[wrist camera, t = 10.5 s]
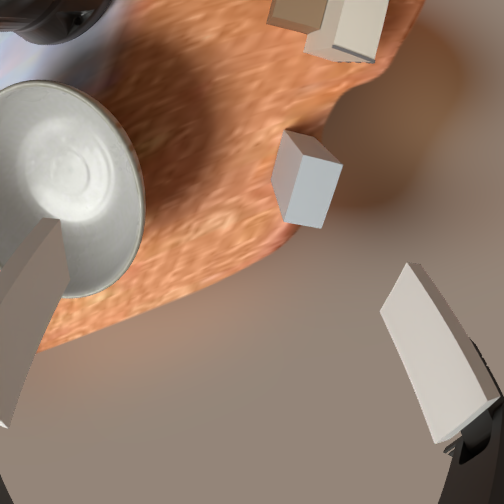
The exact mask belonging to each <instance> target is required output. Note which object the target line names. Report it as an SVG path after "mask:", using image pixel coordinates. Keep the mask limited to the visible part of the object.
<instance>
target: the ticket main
mask: <svg viewBox="0 0 504 504" xmlns="http://www.w3.org/2000/svg"><path fill="white" fill-rule="evenodd" d="M388 2H389V0H272V4H271V8H270V11H269V15H268V19H267V23H266V24H268V25H273V26H277V27H281V28H285V29H289V30H293V31H297V32H301V33H304V34H308V36H307V39H306V43H305V47H304V51H303V52H304V53H307V54H311V55H314V56H318V57H321V58H324V59H327V60H331V61H334V62H348V63H351V62H356V63H361V62H366V63H375V60H374V59H375V55H376V51H377V48H378V44H379V40H380V36H381V32H382V28H383V24H384V20H385V15H386V11H387V7H388Z"/></svg>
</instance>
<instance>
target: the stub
mask: <svg viewBox="0 0 504 504" xmlns="http://www.w3.org/2000/svg"><path fill="white" fill-rule="evenodd" d="M342 166H343V164H342V163H341V162H340V161H339V160H337V159H336V157H334V156H333V155H332V154H331V153H330V152H329V151H328V150H327V149H326V148H325V147H324V146H323V145H322V144H321V143H320V142H319V141H318V140H317V139H316V138H315V137H312V136H308V135H304V134H300V133H296V132H292V131H288V130H284V131H283V134H282V138H281V142H280V146H279V150H278V154H277V158H276V162H275V165H274V169H273V173H272V177H271V183H272V186H273V189H274V192H275V195H276V198H277V202H278V205H279V208H280V211H281V215H282V218H283V221H284V222H287V223H293V224H299V225H304V226H310V227H316V228H322V225H323V222H324V219H325V216H326V214H327V211H328V208H329V205H330V202H331V199H332V196H333V193H334V190H335V188H336V185H337V181H338V179H339V175H340V172H341V170H342Z"/></svg>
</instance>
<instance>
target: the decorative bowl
mask: <svg viewBox="0 0 504 504" xmlns="http://www.w3.org/2000/svg"><path fill="white" fill-rule="evenodd" d="M145 215H146V197H145V186H144V180H143V175H142V170H141V166H140V163H139V160H138V157H137V154H136V151H135V149H134V147H133V145H132V142H131V140H130V139H129V137H128V135H127V133H126V132H125V130H124V129H123V127H122V126H121V124H120V123H119V122H118V120H117V119H116V118H115V117H114V116H113V114H112V113H111V112H110V111H109V110H108V109H107V108H105V107H104V106H103V105H102V104H101V103H100V102H98V101H97V100H96V99H94V98H93V97H91V96H90V95H88V94H87V93H85V92H83V91H81V90H79V89H77V88H75V87H72V86H70V85H67V84H63V83H60V82H55V81H49V80H29V81H23V82H19V83H16V84H13V85H10V86H8V87H6V88H4V89H2V90H1V91H0V270H1V269H2V268H3V266H4V265H5V264H6V262H7V261H8V260H9V258H10V257H11V256H12V254H13V253H14V252H15V251H16V249H17V248H18V247H19V245H20V244H21V243H22V242H23V240H24V239H25V238H26V237H27V236H28V234H29V233H30V232H31V231H32V230H33V228H34V227H35V226H36V225H37V224H38V222H39V221H40V220H41V219H42V218H43V217H44V218H53V219H60V221H61V229H62V236H63V242H64V249H65V254H66V260H67V266H68V271H69V276H70V281H69V283H68V285H67V287H66V289H65V291H64V293H63V295H62V297H61V298H80V297H86V296H90V295H93V294H96V293H98V292H101V291H103V290H104V289H106V288H108V287H110V286H111V285H112V284H114V283H115V282H116V281H117V280H119V279H120V277H121V276H122V275H123V274H124V273H125V272H126V271H127V270H128V268H129V267H130V265H131V264H132V262H133V260H134V258H135V256H136V254H137V252H138V249H139V247H140V243H141V240H142V236H143V232H144V225H145Z"/></svg>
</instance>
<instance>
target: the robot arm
mask: <svg viewBox="0 0 504 504" xmlns="http://www.w3.org/2000/svg"><path fill="white" fill-rule="evenodd" d="M110 1H111V0H0V32H9V31H13V32H14V33H16V34H17V35H19V36H20V37H22V38H23V39H25V40H26V41H28V42H30V43H34V44H38V45H56V44H61V43H65V42H67V41H70V40H72V39H74V38H76V37H78V36H79V35H81V34H82V33H84V32H85V31H86V30H88V29H89V28H90V27H91V26H92V25H93V24H94V23H95V22H96V21H97V20H98V19H99V18H100V17H101V15H102V14H103V13H104V11H105V10H106V8H107V7H108V5H109V3H110ZM69 281H70V276H69V271H68V266H67V260H66V254H65V249H64V242H63V236H62V229H61V221H60V219H53V218H44V217H43V218H42V219H41V220H40V221H39V222H38V224H37V225H36V226H35V227H34V228H33V230H32V231H31V232H30V233H29V234H28V236H27V237H26V238H25V239H24V240H23V242H22V243H21V244H20V245H19V247H18V248H17V249H16V251H15V252H14V253H13V254H12V256H11V257H10V258H9V260H8V261H7V262H6V264H5V265H4V266H3V268H2V269H1V271H0V425H1V426H3V427H6V428H8V429H9V426H10V423H11V420H12V417H13V414H14V411H15V407H16V404H17V401H18V398H19V396H20V392H21V390H22V387H23V384H24V382H25V379H26V376H27V374H28V371H29V369H30V366H31V364H32V361H33V359H34V356H35V354H36V351H37V349H38V347H39V344H40V342H41V340H42V337H43V335H44V333H45V331H46V328H47V326H48V324H49V322H50V320H51V318H52V315H53V313H54V311H55V309H56V307H57V305H58V303H59V301H60V299H61V297H62V295H63V293H64V291H65V289H66V287H67V285H68V283H69ZM380 313H381V315H382V317H383V320H384V322H385V324H386V326H387V328H388V330H389V333H390V335H391V337H392V339H393V341H394V344H395V346H396V348H397V350H398V353H399V355H400V357H401V359H402V362H403V364H404V366H405V369H406V371H407V374H408V376H409V378H410V381H411V383H412V386H413V388H414V391H415V393H416V395H417V398H418V401H419V403H420V406H421V408H422V411H423V413H424V416H425V419H426V421H427V424H428V427H429V430H430V433H431V435H432V438H433V441H434V444H436V443H440V442H443V441H446V440H449V439H450V438H452V437H453V436H454V435H456V434H457V433H458V432H460V431H461V434H462V436H461V437H460V438H458V439H457V440H455V441H454V442H453V443H451V444H450V445H449V446H447V447H446V448H445V450H444V453H447V452H448V451H450V450H451V449H452V448H454V447H455V449H454V450H453V451H451V452H450V453H449V454H448V455H450V456H452V457H453V458H452V461H451V465H450V468H449V472H448V475H447V478H446V482H445V485H444V488H443V491H442V494H441V497H440V499H439V502H438V504H504V396H503V395H502V392H501V390H500V388H499V386H498V384H497V382H496V380H495V378H494V377H493V375H492V373H491V371H490V369H489V367H488V366H486V362H485V360H484V358H482V355H481V353H480V351H479V349H478V348H477V346H476V344H474V342H473V341H472V340H471V339H470V338H469V337H468V335H467V334H466V332H465V330H464V329H463V327H462V325H461V324H460V322H459V321H458V319H457V317H456V316H455V314H454V313H453V311H452V310H451V308H450V307H449V305H448V303H447V302H446V300H445V299H444V297H443V296H442V295H441V293H440V291H439V290H438V289H437V287H436V285H435V284H434V283H433V281H432V280H431V278H430V277H429V275H428V274H427V273H426V271H425V270H424V268H423V267H422V266H421V264H416V263H409V262H407V263H406V265H405V267H404V269H403V271H402V272H401V274H400V276H399V278H398V280H397V282H396V284H395V285H394V287H393V289H392V291H391V293H390V295H389V296H388V298H387V300H386V301H385V303H384V305H383V307H382V309H381V310H380ZM0 504H14V503H13V501H12V499H11V497H10V495H9V493H8V491H7V489H6V487H5V485H4V482H3V480H2V478H1V475H0Z"/></svg>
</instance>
